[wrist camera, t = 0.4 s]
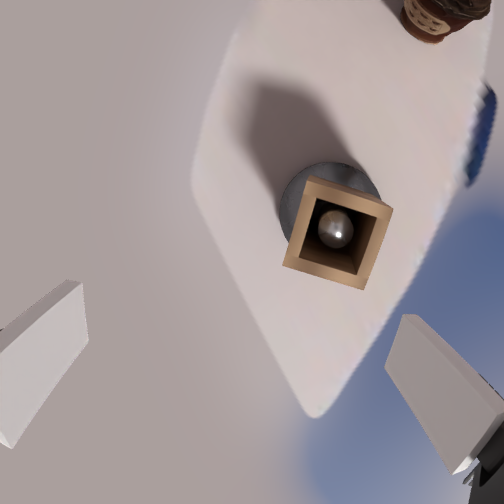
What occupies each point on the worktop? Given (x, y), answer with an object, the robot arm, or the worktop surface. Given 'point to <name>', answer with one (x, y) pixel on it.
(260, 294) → the worktop surface
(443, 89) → the worktop surface
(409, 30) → the coffee cup
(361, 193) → the sleeve
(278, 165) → the worktop surface
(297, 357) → the worktop surface
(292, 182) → the post stand
